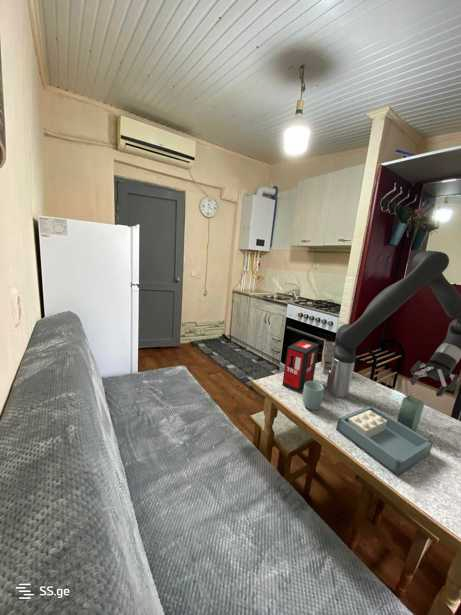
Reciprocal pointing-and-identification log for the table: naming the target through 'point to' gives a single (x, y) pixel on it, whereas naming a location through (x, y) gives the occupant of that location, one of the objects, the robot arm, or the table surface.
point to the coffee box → (327, 356)
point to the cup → (312, 394)
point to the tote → (388, 442)
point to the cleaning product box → (300, 364)
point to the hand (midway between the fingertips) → (424, 389)
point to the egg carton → (368, 423)
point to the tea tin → (410, 412)
